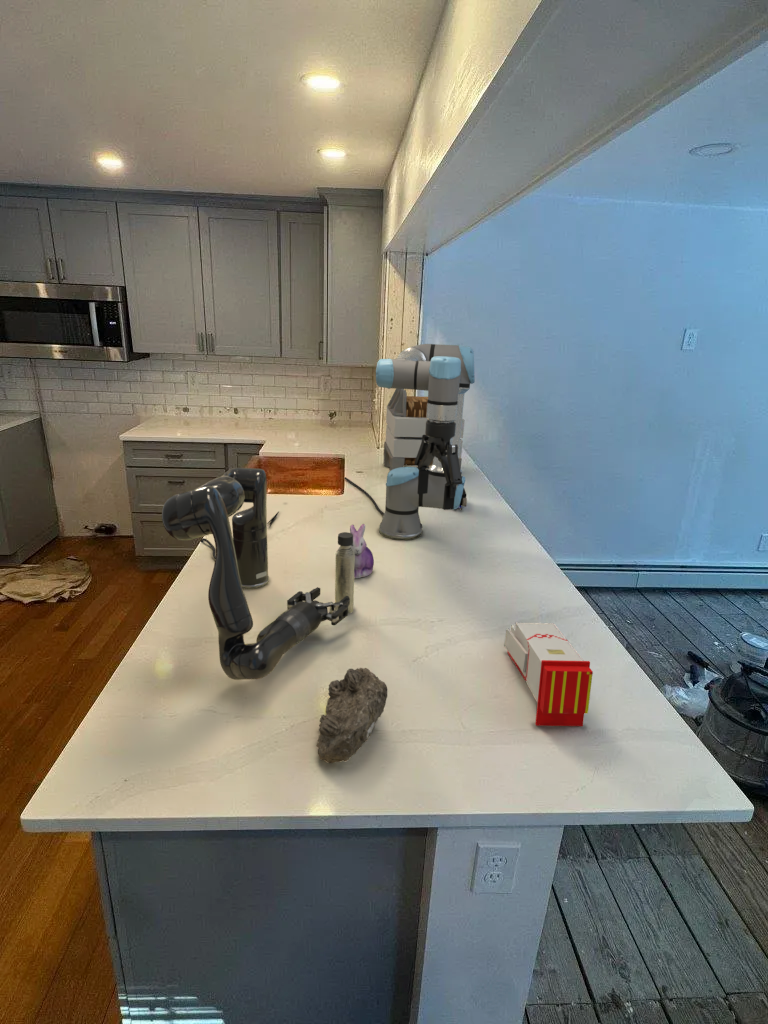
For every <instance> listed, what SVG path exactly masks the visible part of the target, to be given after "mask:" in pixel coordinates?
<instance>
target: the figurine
mask: <svg viewBox="0 0 768 1024" xmlns="http://www.w3.org/2000/svg"><path fill="white" fill-rule="evenodd" d="M365 531H366V524H365V523H362V524H361V525H360V527H359V528H358V530H357V528H356V527H355V525H354V524H350V526H349V533H352V534H353V544H352V545H351V546H350V547H351V548H352V550H353V551H354V553H355V563H354V579H360V578H365V577H368V576H370V575H371V574H372V573H373V570H374V565H375V560H374V555H373V552H372V551H371V549H370V548H369V547H367V542H366V540H365V538H364V535H365Z"/></svg>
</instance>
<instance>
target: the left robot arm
mask: <svg viewBox="0 0 768 1024" xmlns="http://www.w3.org/2000/svg"><path fill="white" fill-rule="evenodd" d="M267 477H268V476H267V474H266V471H265V470H264V469H263V468H255V467H254V468H253V467H233V468H229V469H228V470H227V471H225V472H224V473H223V475H221V476H219V477H216V478H212V479H210V480H209V481H207V482H205V483H204V484H202V485H200V486H198V487H196V488H194V489H190V490H187V491H184V492H181V493H177V494H174V495H172V496H170V497H168V498H167V499H166V500H165V502H164V504H163V506H162V509H161V521H162V525H163V527H164V529H165V531H166V532H167V533H168V535H170V537H172V538H174V539H175V540H178V541H191V540H194V539H199V538H201V539H200V542H201V543H203V541H204V542H206V543H207V545H209V546H210V548H211V549H212V557H213V559H214V565H213V569H212V574H211V577H210V582H209V585H208V586H209V587H208V591H207V597H208V598H207V599H208V605H209V609H210V612H211V616H212V618H213V621H214V624H215V627H216V629H217V633H218V637H217V638H218V640H217V641H218V654H219V664H220V667H221V670H222V671H223V673H224V674H225V675H226V676H227V677H228V678H229V679H231V680H235V681H242V680H245V681H247V680H250V681H251V680H252V681H253V680H261V679H263V678H265V677H267V676H268V675H270V674H271V673H272V672H273V671H274V669H275V668H276V666H277V665H278V663H280V660H281V659H282V657H283V655H285V654H286V653H287V652H289V650H291V649H292V648H293V647H294V646H296V645H299V644H301V642H302V641H303V640H305V639H306V638H307V637H309V636H310V635H311V634H313V633H314V632H315V630H317V629H318V628H319V626H320V625H321V623H322V622H326V621H329V622H330V625H332V626H336V625H338V624H339V623H340V622H341V621H343V620H344V619H346V618H347V617H348V616H349V614H348V606H349V605H350V599H349V596H346V597H344V598H343V599H342V600H341V601H339V602H337V603H335V602H333V601H328V602H321V601H319V600H316V599H318V598H319V597H320V596H321V587H319V586H317V587H315V588H313V589H312V590H310V591H306V592H305V593H304V592H303V591H298V592H296V593H295V594H293V595H292V596H291V597H290V598H288V600H286V602H287V603H286V610H285V611H283V612H282V613H281V614H280V615H278V616H277V617H276V618H275V619H274V620H273V621H272V622H271V623H269V624H267V626H265V627H264V628H262V629H261V630H260V631H259V633H258V634H257V636H256V641H255V642H254V643H253V642H251V643H245V639H244V635H246V634H247V633H249V632H250V631H251V630H252V629H253V627H254V620H253V616H252V613H251V610H250V607H249V604H248V601H247V597H246V594H245V592H244V589H247V590H253V589H258V588H263V587H265V586H266V585H267V584H268V583H269V581H270V580H269V579H270V577H269V554H268V553H269V552H268V549H269V548H268V524H267V523H268V522H267V521H268V520H267V514H268V513H267V510H268V509H267V497H268V496H267V495H268V478H267ZM244 503H249V504H252V506H251V507H249V508H247V509H243V510H240V509H241V508H242V507H243V505H244ZM230 517H232V518H231V522H230ZM210 535H212V537H213V540H214V545H213V544H212V542H211V541H210V540H208V539H207V538H202V537H205V536H210ZM335 607H338V610H335ZM328 609H329V611H328Z"/></svg>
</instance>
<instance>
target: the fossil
mask: <svg viewBox="0 0 768 1024" xmlns="http://www.w3.org/2000/svg"><path fill="white" fill-rule="evenodd" d="M327 694H328V696H329V697H328V699H327V704H326V707H325V713H326V715H324V714H321V715H320V716H321V717H320V719H319V722H320V723H319V725H318V726H319V728H318V731H319V735H318V739H317V743H316V747H317V754H318V759H319V760H321V761H325V762H326V763H327V764H334V763H340V762H344V763H345V762H348V761H349V760H350V759H351V758H352V757H353V756H354V755H355V754H356V753H357V752H358V751H359V750H360V749H361V748H362V746H363V745H365V743H367V741H368V740H369V738H370V737H371V736H372V731H373V730H374V729H375V726H376V724H377V722H378V721H379V718H381V717H382V714H383V713H384V710H385V707H386V704H387V698H388V686H387V684H386V683H385V681H382V680H380V679H379V677H378V676H377V675H376V674H375V673H374V672H373V671H371V670H370V669H369V668H367V667H364V668H363V667H360V668H356V669H354V668H348V669H347V670H346V672H345V674H344V677H343V679H340V680H339V679H335V680H332V681H330V682H329V684H328V693H327Z"/></svg>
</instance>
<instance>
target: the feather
mask: <svg viewBox="0 0 768 1024" xmlns="http://www.w3.org/2000/svg"><path fill="white" fill-rule="evenodd" d="M278 514H279V512H277V513H276V514H275V515H274V516H273V517H272V518H271V519H269V521H268V522H267V525H268V524H269V529H270V528H271V526H272V525H273V523H274V521H275V520H276V518H277V516H278Z"/></svg>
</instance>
